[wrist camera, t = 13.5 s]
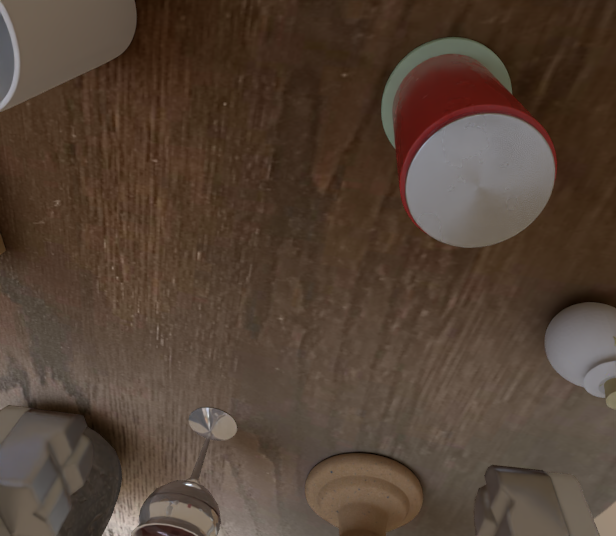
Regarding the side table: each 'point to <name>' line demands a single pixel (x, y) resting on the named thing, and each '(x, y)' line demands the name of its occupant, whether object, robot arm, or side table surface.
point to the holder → (2, 245)
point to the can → (468, 154)
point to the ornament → (585, 348)
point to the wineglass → (188, 489)
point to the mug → (58, 42)
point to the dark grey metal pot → (95, 492)
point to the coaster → (431, 50)
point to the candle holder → (363, 493)
